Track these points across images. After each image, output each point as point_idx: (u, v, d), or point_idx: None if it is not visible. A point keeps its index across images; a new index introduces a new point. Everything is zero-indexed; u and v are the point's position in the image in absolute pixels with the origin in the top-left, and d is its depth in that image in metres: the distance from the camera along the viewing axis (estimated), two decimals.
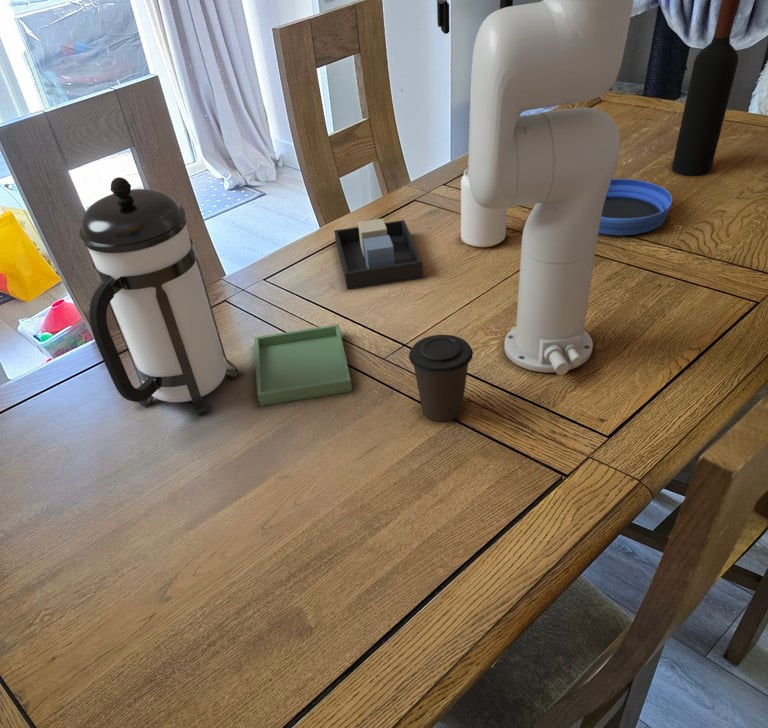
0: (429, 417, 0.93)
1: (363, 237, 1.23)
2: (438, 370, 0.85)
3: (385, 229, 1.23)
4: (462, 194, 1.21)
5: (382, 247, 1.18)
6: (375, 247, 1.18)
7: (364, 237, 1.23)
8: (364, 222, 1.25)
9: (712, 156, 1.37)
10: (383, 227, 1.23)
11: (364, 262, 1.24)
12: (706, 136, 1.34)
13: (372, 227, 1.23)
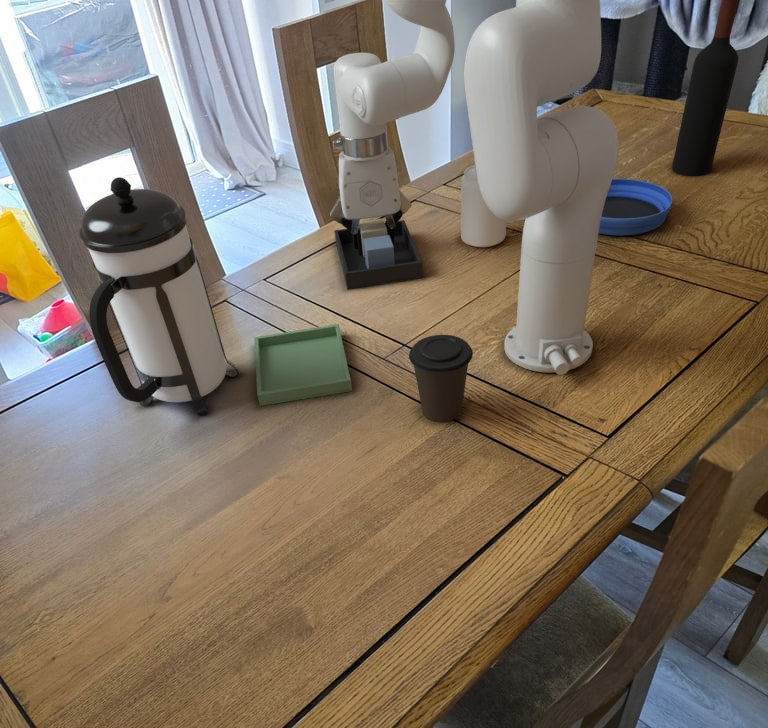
0: (429, 417, 0.93)
1: (363, 237, 1.23)
2: (438, 370, 0.85)
3: (385, 229, 1.23)
4: (462, 194, 1.21)
5: (382, 247, 1.18)
6: (375, 247, 1.18)
7: (364, 237, 1.23)
8: (364, 222, 1.25)
9: (712, 156, 1.37)
10: (383, 227, 1.23)
11: (364, 262, 1.24)
12: (705, 136, 1.34)
13: (372, 227, 1.23)
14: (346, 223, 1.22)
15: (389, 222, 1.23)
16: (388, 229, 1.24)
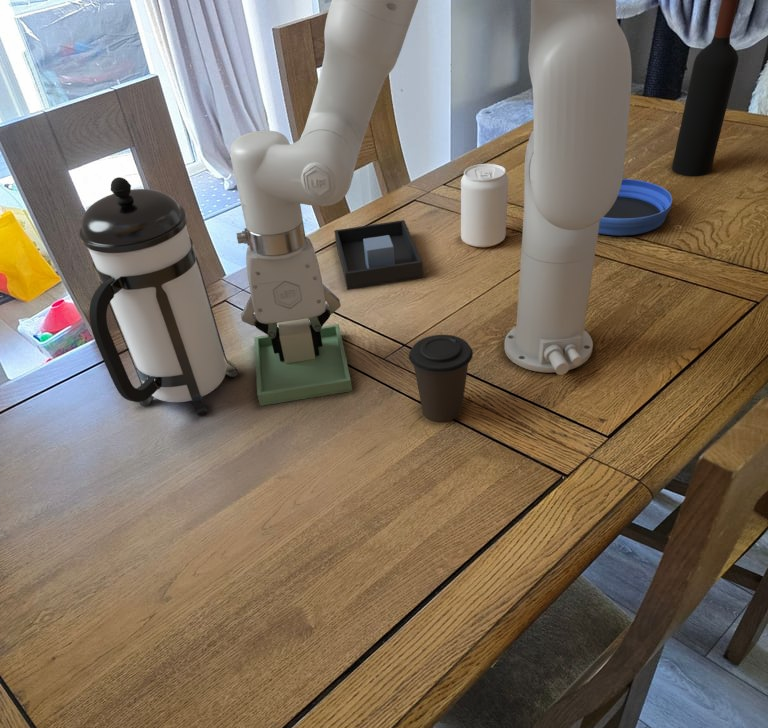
0: (429, 417, 0.93)
1: (282, 342, 1.01)
2: (438, 370, 0.85)
3: (309, 332, 1.01)
4: (462, 194, 1.21)
5: (382, 247, 1.18)
6: (375, 247, 1.18)
7: (283, 342, 1.01)
8: (285, 322, 1.03)
9: (712, 156, 1.37)
10: (307, 330, 1.01)
11: (364, 262, 1.24)
12: (705, 136, 1.34)
13: (293, 329, 1.02)
14: (261, 326, 1.00)
15: (314, 324, 1.01)
16: (313, 332, 1.02)
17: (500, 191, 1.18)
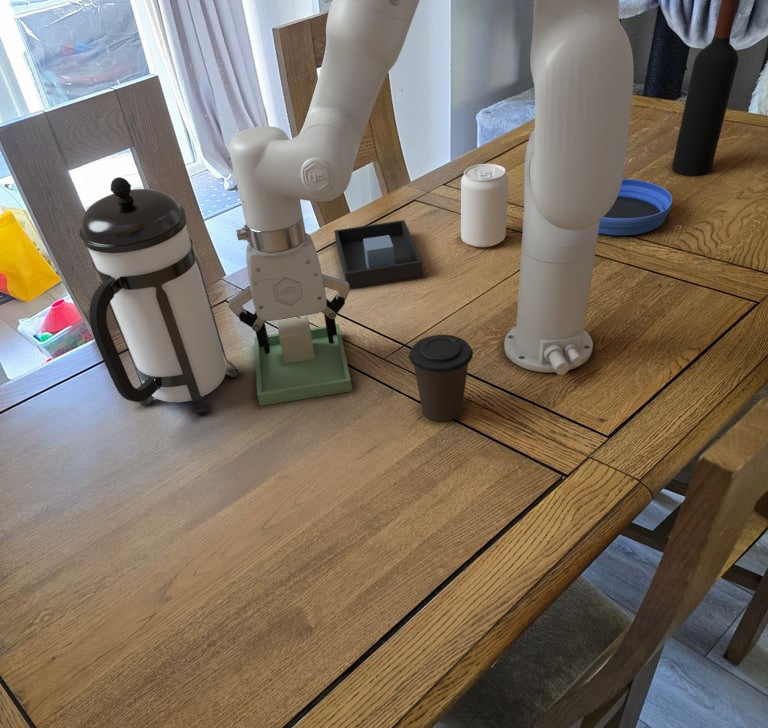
0: (429, 417, 0.93)
1: (282, 342, 1.01)
2: (438, 370, 0.85)
3: (308, 333, 1.01)
4: (462, 194, 1.21)
5: (382, 247, 1.18)
6: (375, 247, 1.18)
7: (283, 342, 1.01)
8: (285, 322, 1.03)
9: (712, 156, 1.37)
10: (306, 330, 1.01)
11: (364, 262, 1.24)
12: (705, 136, 1.34)
13: (293, 329, 1.02)
14: (245, 319, 0.99)
15: (328, 312, 1.00)
16: (328, 319, 1.01)
17: (500, 191, 1.18)
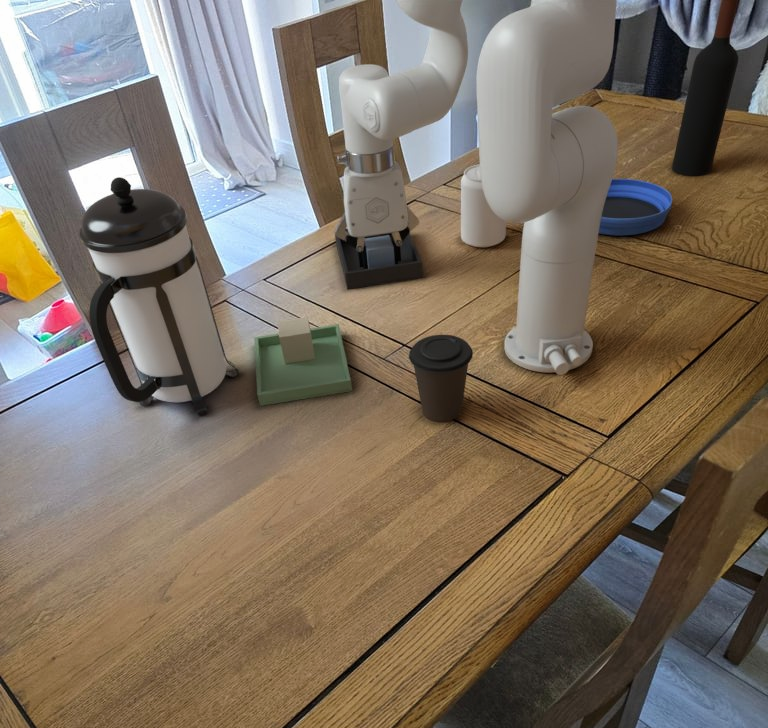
0: (429, 417, 0.93)
1: (282, 342, 1.01)
2: (438, 370, 0.85)
3: (308, 333, 1.01)
4: (462, 194, 1.21)
5: (382, 247, 1.18)
6: (375, 247, 1.18)
7: (283, 342, 1.01)
8: (285, 322, 1.03)
9: (712, 156, 1.37)
10: (306, 330, 1.01)
11: None
12: (706, 136, 1.34)
13: (293, 329, 1.02)
14: (351, 240, 1.17)
15: (396, 239, 1.18)
16: (395, 246, 1.19)
17: None
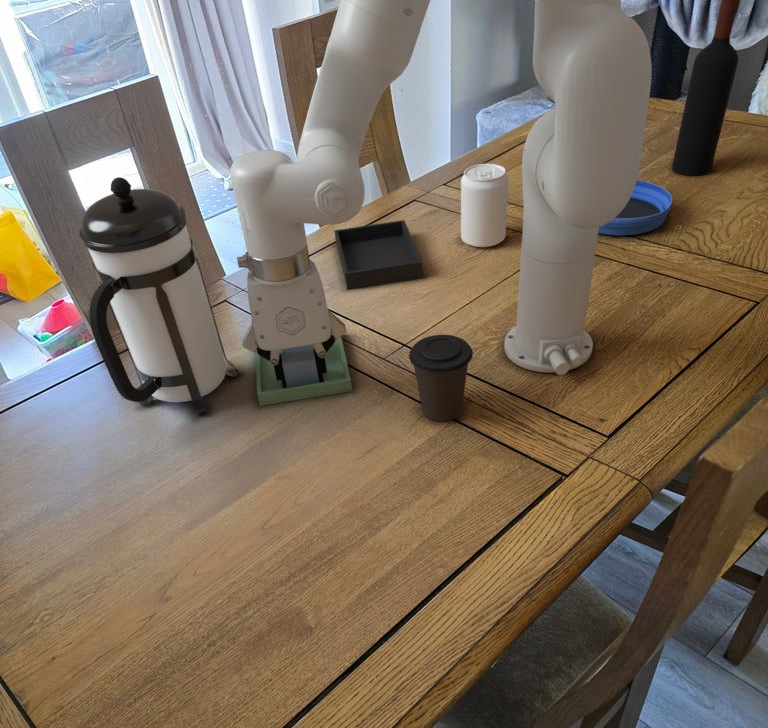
0: (429, 417, 0.93)
1: None
2: (438, 370, 0.85)
3: None
4: (462, 194, 1.21)
5: (301, 360, 0.96)
6: (293, 359, 0.96)
7: None
8: None
9: (712, 156, 1.37)
10: None
11: (364, 262, 1.24)
12: (706, 136, 1.34)
13: None
14: (263, 352, 0.96)
15: (318, 350, 0.96)
16: (317, 358, 0.97)
17: (500, 191, 1.18)
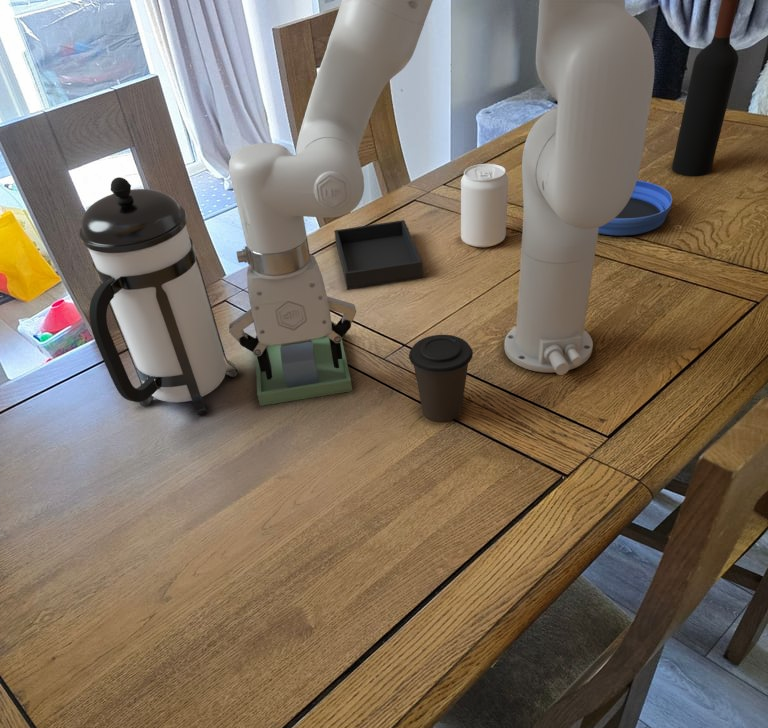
0: (429, 417, 0.93)
1: None
2: (438, 370, 0.85)
3: None
4: (462, 194, 1.21)
5: (300, 360, 0.96)
6: (293, 360, 0.96)
7: None
8: None
9: (712, 156, 1.37)
10: None
11: (364, 262, 1.24)
12: (705, 136, 1.34)
13: None
14: (245, 343, 0.94)
15: (334, 335, 0.95)
16: (333, 343, 0.96)
17: (500, 191, 1.18)
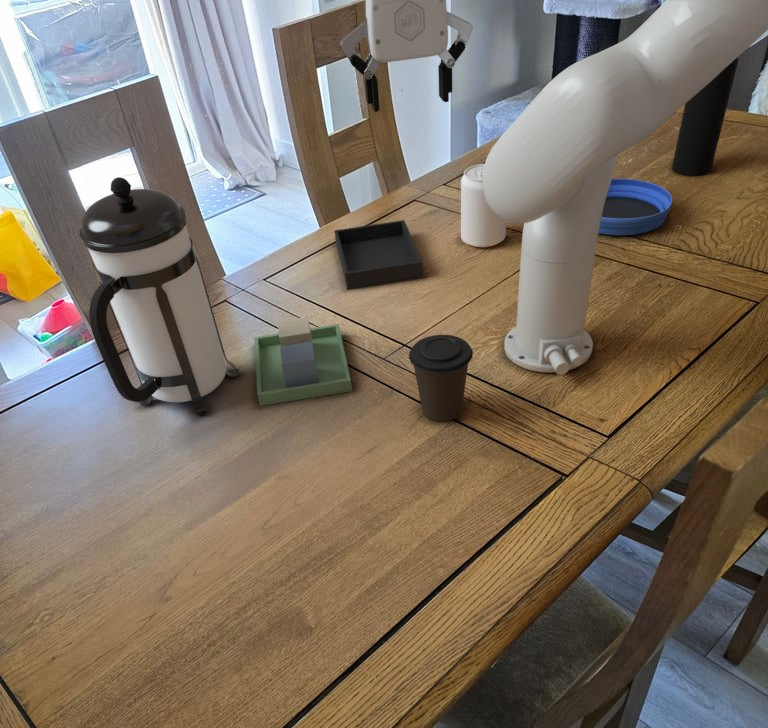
0: (429, 417, 0.93)
1: (282, 342, 1.01)
2: (438, 370, 0.85)
3: (308, 333, 1.01)
4: (462, 194, 1.21)
5: (300, 360, 0.96)
6: (293, 360, 0.96)
7: (283, 342, 1.01)
8: (285, 322, 1.03)
9: (712, 156, 1.37)
10: (306, 330, 1.01)
11: (364, 262, 1.24)
12: (706, 136, 1.34)
13: (293, 329, 1.02)
14: (357, 62, 0.91)
15: (447, 57, 0.92)
16: (445, 68, 0.92)
17: None
